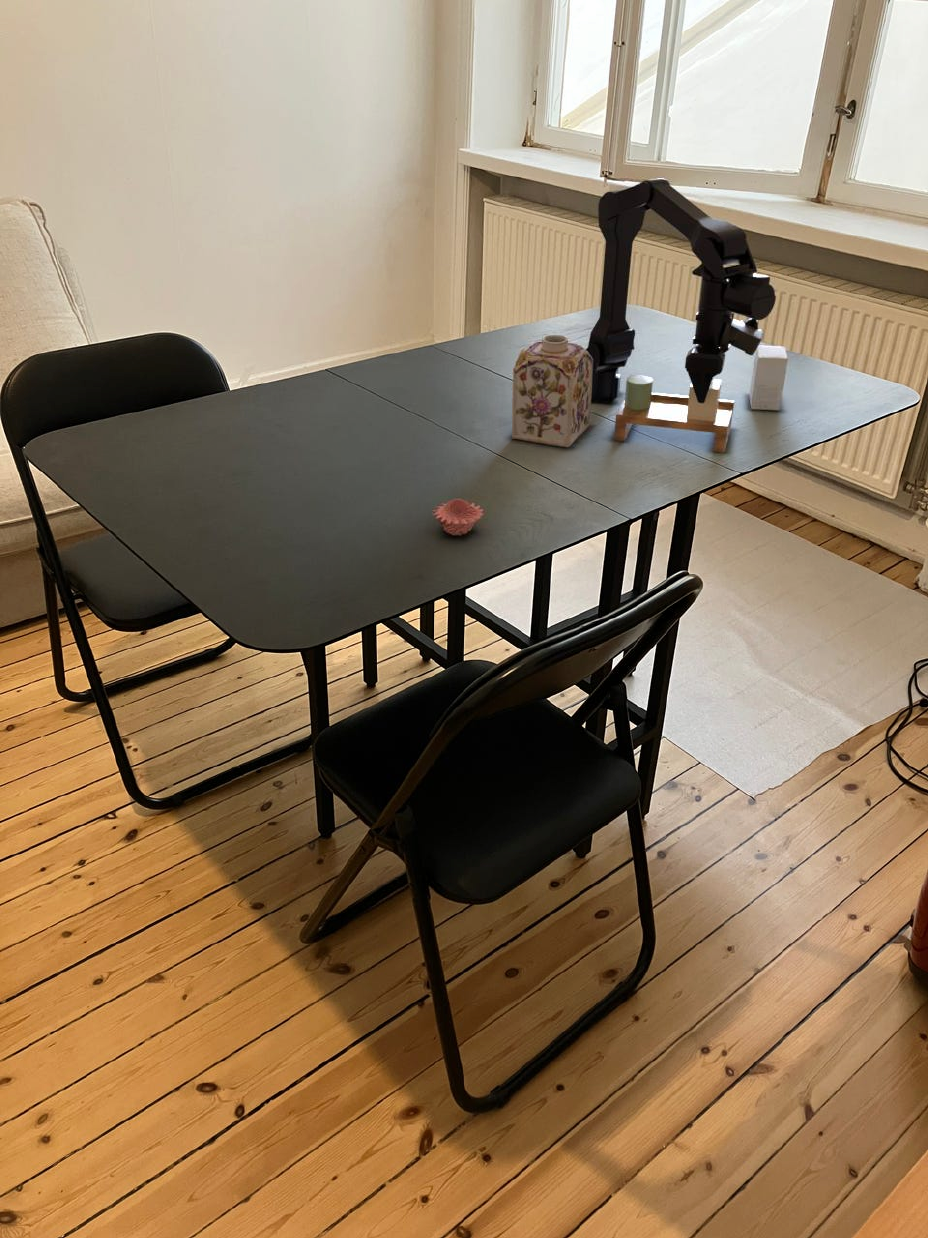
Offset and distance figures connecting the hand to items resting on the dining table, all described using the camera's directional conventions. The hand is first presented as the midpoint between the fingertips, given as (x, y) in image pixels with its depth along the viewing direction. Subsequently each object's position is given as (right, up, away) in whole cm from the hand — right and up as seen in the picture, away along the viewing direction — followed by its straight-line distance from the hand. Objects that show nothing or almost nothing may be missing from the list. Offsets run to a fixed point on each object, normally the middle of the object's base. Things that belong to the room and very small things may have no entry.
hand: (704, 393), depth 180 cm
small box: (+17, +3, +21) cm, 27 cm away
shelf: (-4, -6, +7) cm, 10 cm away
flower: (-44, -27, -24) cm, 57 cm away
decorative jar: (-27, -6, +9) cm, 29 cm away
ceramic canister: (-11, -1, +7) cm, 13 cm away
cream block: (0, -3, +2) cm, 4 cm away
